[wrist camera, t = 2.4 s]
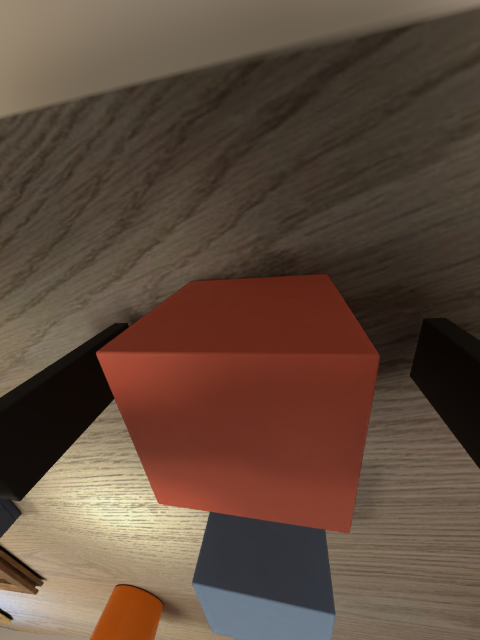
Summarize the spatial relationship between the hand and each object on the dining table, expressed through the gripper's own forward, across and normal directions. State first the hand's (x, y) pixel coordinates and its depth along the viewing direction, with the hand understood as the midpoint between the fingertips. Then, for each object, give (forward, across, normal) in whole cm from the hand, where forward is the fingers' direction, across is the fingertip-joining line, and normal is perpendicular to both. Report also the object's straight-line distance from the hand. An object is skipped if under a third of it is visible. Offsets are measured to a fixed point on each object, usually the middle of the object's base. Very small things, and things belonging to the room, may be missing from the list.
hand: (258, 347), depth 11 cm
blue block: (+1, 0, -12) cm, 12 cm away
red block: (+1, 0, 0) cm, 1 cm away
